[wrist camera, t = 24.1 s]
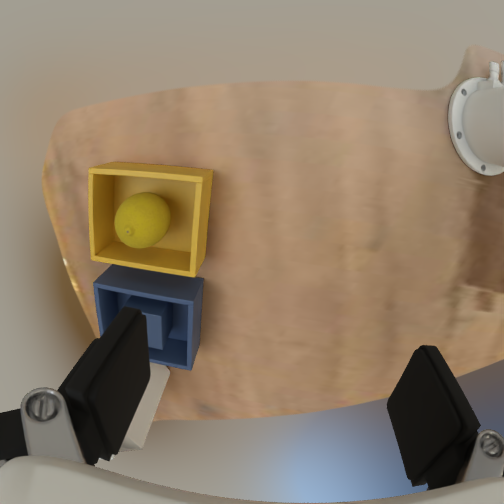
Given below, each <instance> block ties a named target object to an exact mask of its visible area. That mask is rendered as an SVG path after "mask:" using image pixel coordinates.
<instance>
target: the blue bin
mask: <svg viewBox="0 0 504 504" xmlns="http://www.w3.org/2000/svg"><path fill="white" fill-rule="evenodd" d="M203 281H204V279H203V278H197V277H195V278H194V277H188V276H181V275H175V274H169V273H163V272H157V271H151V270H145V269H139V268H133V267H127V266H122V265H116V264H112V265H111V266H110V267H109V268H108V269H107V270H106V271H105V272H104V273H103V274H102V275H101V276H100V277H98V278H97V279H96V280H95V281H94V282H93V286H94V295H95V303H96V310H97V317H98V324H99V330H100V336H102V334H103V333H104V332H105V330H106V329H107V328H108V326H109V325H110V324H111V322H112V321H113V320H114V318H115V317H116V316H117V314H118V313H119V312H120V311H121V309H122V307H123V306H124V304H125V303H126V302H127V300H128V299H129V298H130V296H131V295H135V296H140V297H146V298H151V299H156V300H162V301H167V302H173V328H172V330H171V332H170V334H169V337H168V339H167V341H166V343H165V345H164V347H163V350H161V349H156V348H151V347H148V348H149V360H150V362H152V363H156V364H161V365H166V366H170V367H175V368H180V369H186V370H192V367H193V364H194V361H195V358H196V354H197V351H198V348H199V345H200V330H201V312H202V296H203Z"/></svg>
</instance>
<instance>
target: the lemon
mask: <svg viewBox="0 0 504 504" xmlns="http://www.w3.org/2000/svg"><path fill="white" fill-rule="evenodd" d="M170 223H171V212H170V209H169V206H168V205H167V203H166V201H165V200H164V199H163V198H162V197H160V196H159V195H157V194H154V193H151V192H141V193H137V194H134V195H132V196H130V197H129V198H127V199H126V200H125V201H124V202H123V203H122V204H121V205H120V207H119V209H118V211H117V213H116V216H115V230H116V233H117V235H118V237H119V238H120V240H121V241H122V242H123V243H125V244H126V245H128V246H130V247H133V248H147V247H150V246H153V245H154V244H156V243H157V242H159V241H160V240H161V239H162V238H163V237H164V236H165V235H166V233H167V231H168V229H169V227H170Z"/></svg>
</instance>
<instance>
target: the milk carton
mask: <svg viewBox="0 0 504 504" xmlns="http://www.w3.org/2000/svg"><path fill="white" fill-rule="evenodd" d="M150 371H151V375H150V381H149V383H148V385H147V388H146V390H145V392H144V394H143V397H142V399H141V401H140V403H139V406H138V408H137V410H136V412H135V415H134V417H133V419H132V422H131V424H130V426H129V429H128V431H127V433H126V436H125V438H124V440H123V443H122V445H121V447H120V450H119V452H123V451H132V450H141V449H142V448H143V445H144V443H145V440H146V437H147V434H148V431H149V429H150V426H151V423H152V421H153V418H154V415H155V412H156V410H157V407H158V404H159V402H160V399H161V396H162V393H163V391H164V388H165V386H166V383H167V380H168V378H169V375H170V371H169V369H168V368H167V367H166V365H161V364H156V363H152V362H150ZM114 457H115V455H113V454H112V456H111V459H114ZM99 459H101V458H99Z"/></svg>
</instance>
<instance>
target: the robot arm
mask: <svg viewBox="0 0 504 504" xmlns="http://www.w3.org/2000/svg"><path fill="white" fill-rule="evenodd" d="M489 72H490V78H488V79H486V78H481V77H476V78H470V79H467V80H465V81H463V82H462V83H460V84H459V85H458V87H457V88H456V89H455V91H454V93H453V95H452V97H451V100H450V104H449V111H448V124H449V130H450V135H451V138H452V142H453V145H454V147H455V149H456V151H457V153H458V154H459V156H460V158H461V159H462V160H463V162H464V163H465V164H466V165H467V166H468V167H470V168H471V169H472V170H474V171H476V172H478V173H480V174H484V175H490V176H493V175H498V174H500V173H502V172H504V61H501V75H502V82H500V81H499V80H498V78H499V64H498V63H496V62H489ZM150 375H151V371H150V360H149V348H148V334H147V318H146V315H143V314H142V312H141V310H140V309H136V308H131V307H126V306H124V307H123V308H122V309H121V311H120V312H119V313H118V314H117V316H116V317H115V318H114V320H113V321H112V322H111V324H110V325H109V326H108V328H107V329H106V330H105V332H104V333H103V334H102V336H101V337H100V338H97V339H95V340H94V341H93V342H92V343H91V344H90V346H89V347H88V348H87V350H86V351H85V352H84V354H83V355H82V356H81V358H80V359H79V361H78V362H77V363H76V365H75V366H74V367H73V369H72V370H71V372H70V373H69V374H68V376H67V377H66V379H65V380H64V382H63V383H62V384H61V386H60V387H59V389H58V390H57V391H56V390H54V389H51V388H37V389H34V390H32V391H30V392H29V393H27V394H26V395H25V396H24V398H23V400H22V402H21V408H20V409H16V410H11V411H7V412H2V413H0V504H504V438H503V437H502V436H501V435H500V434H499V433H498V432H496V431H494V430H491V429H486V430H483V431H481V432H480V433H479V434H478V432H477V429H479V427H480V426H481V425H480V423H479V421H478V419H477V417H476V415H475V413H474V411H473V410H472V408H471V406H470V404H469V402H468V400H467V398H466V397H465V395H464V393H463V391H462V389H461V388H460V386H459V384H458V382H457V380H456V379H455V377H454V375H453V373H452V372H451V370H450V368H449V367H448V365H447V363H446V361H445V360H444V358H443V356H442V355H441V353H440V352H439V350H438V348H437V347H436V346H427V345H422V346H420V347H419V348H418V349H416V350H415V351H414V353H413V355H412V357H411V359H410V361H409V363H408V365H407V367H406V369H405V371H404V372H403V374H402V376H401V378H400V380H399V382H398V383H397V385H396V387H395V389H394V391H393V392H392V394H391V396H390V397H389V399H388V402H387V409H388V413H389V416H390V419H391V422H392V426H393V429H394V432H395V436H396V439H397V442H398V446H399V449H400V453H401V456H402V460H403V464H404V467H405V471H406V475H407V478H408V479H409V480H411V483H412V486H413V487H414V486H419V485H424V484H426V483H427V484H428V488H427V491H424V492H419V493H413V494H408V495H403V496H396V497H390V498H382V499H373V500H364V501H353V502H337V503H277V502H262V501H250V500H240V499H232V498H224V497H217V496H210V495H204V494H199V493H194V492H189V491H183V490H179V489H174V488H170V487H166V486H161V485H157V484H153V483H149V482H145V481H141V480H138V479H134V478H131V477H127V476H124V475H121V474H118V473H114V472H111V471H107V470H104V469H101V468H97V467H95V465H94V464H96V463H97V462H98V459H99V458H101V459H104V460H107V461H110V459H111V456H112V454H113V455H116V454H118V452H119V450H120V447H121V445H122V443H123V440H124V438H125V436H126V433H127V431H128V429H129V426H130V424H131V422H132V419H133V417H134V415H135V412H136V410H137V408H138V406H139V403H140V401H141V399H142V397H143V394H144V392H145V390H146V388H147V385H148V383H149V381H150Z"/></svg>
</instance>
